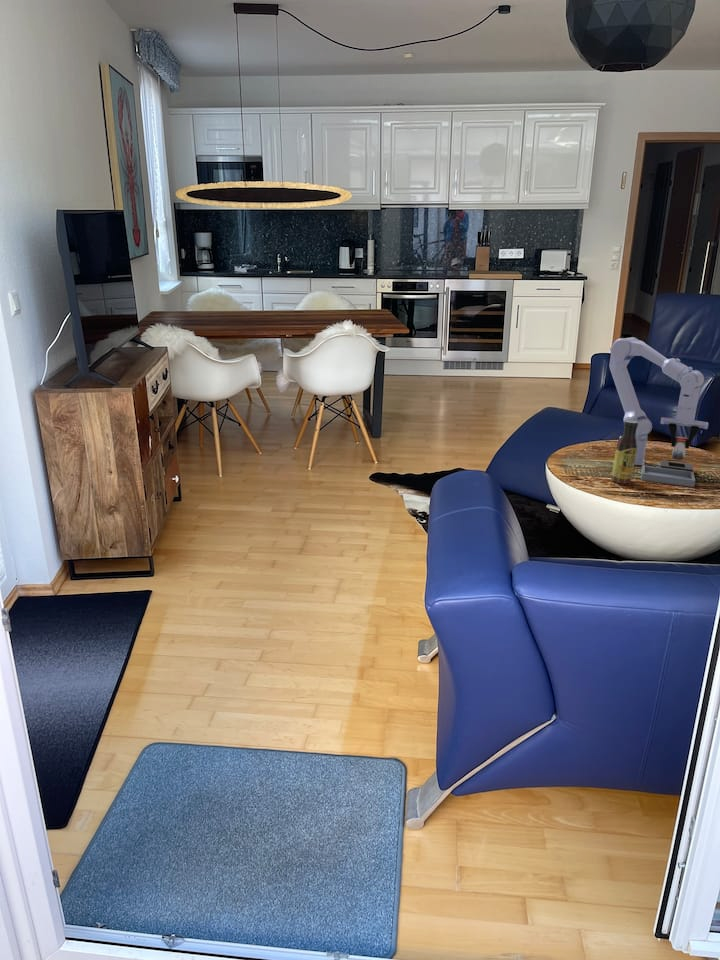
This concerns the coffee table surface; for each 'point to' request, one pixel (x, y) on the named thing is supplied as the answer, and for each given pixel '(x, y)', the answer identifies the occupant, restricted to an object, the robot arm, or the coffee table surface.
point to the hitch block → (676, 465)
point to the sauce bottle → (625, 454)
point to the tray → (668, 476)
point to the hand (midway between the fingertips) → (679, 446)
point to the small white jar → (679, 448)
